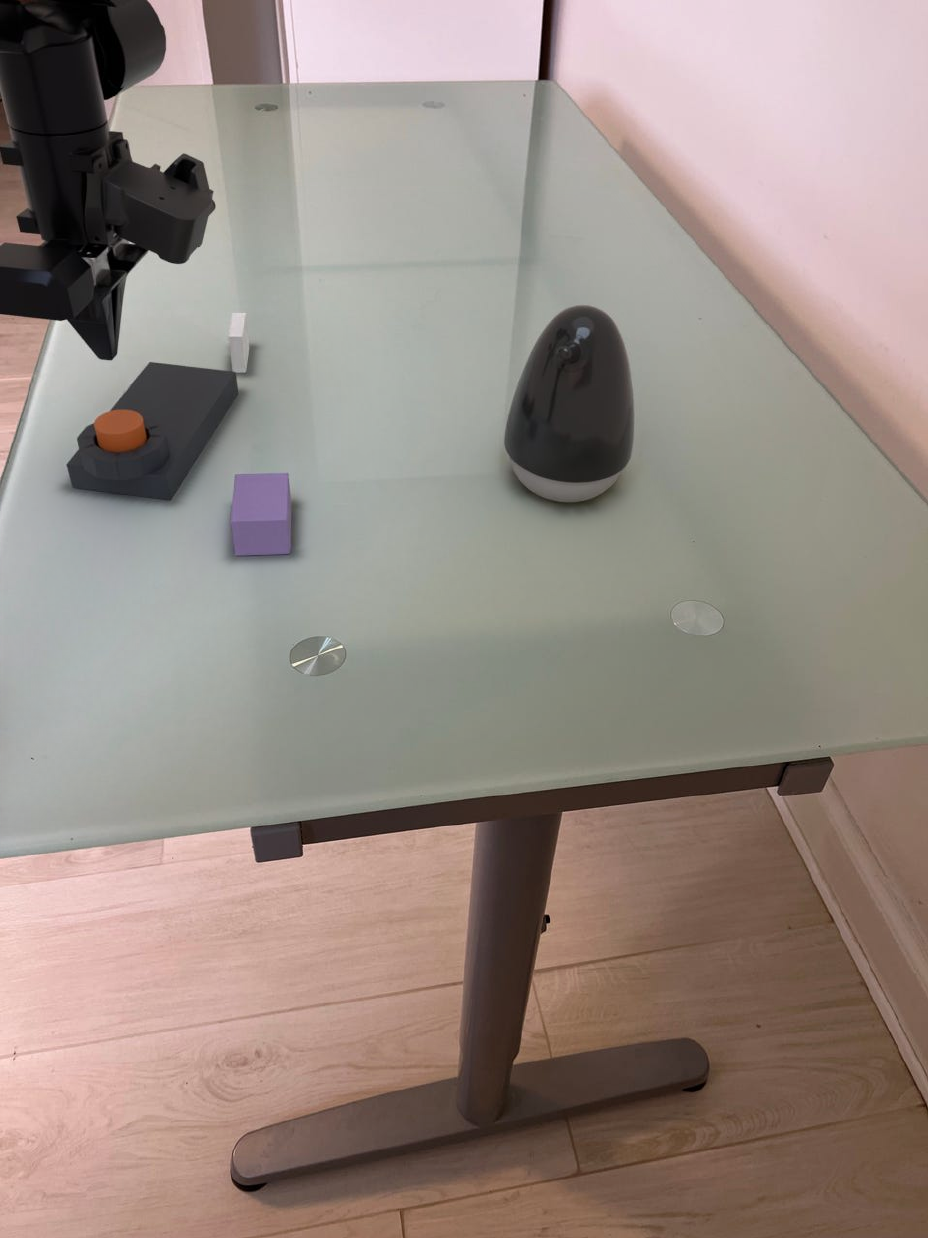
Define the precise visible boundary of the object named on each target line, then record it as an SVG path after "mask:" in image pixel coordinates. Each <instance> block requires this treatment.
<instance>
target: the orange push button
mask: <svg viewBox="0 0 928 1238" xmlns="http://www.w3.org/2000/svg"><path fill="white" fill-rule="evenodd" d="M93 423H94V427H95V431H96V436H97V440H98V444H99V446H100V448H101V449H102V450H104V451H111V452H123V451H130V450H134V449H136V448H138V447H140V446H142V445H144V444H145V443H146V441H147V436H146V431H145V426H144V421H143V417H142V416H141V415H140V414H139V413H137V412H135V411H132V410H113V411H110V410H109V411H106V412H104V413H102V414H100V415H99V416H98V417H96V418H95V420H94V422H93Z"/></svg>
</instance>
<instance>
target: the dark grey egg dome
mask: <svg viewBox="0 0 928 1238" xmlns="http://www.w3.org/2000/svg"><path fill="white" fill-rule="evenodd" d="M630 365H631V364H630V359H629V355H628V352H627V347H626V345H625V341H624V338H623V336H622V334H621V331H620V329H619V327H618V326H617V324H616V322H615V320H614V319H613V318H612V316H611V315H610V314H608V313H607V312H606V311H604V310H603V309H601V308H599V307H597V306H594V305H589V304H578V305H572V306H570V307H567V308H565V309H563V310H561V311H560V312H559V313H557V314H556V315H554V317H553V318H552V319H551V320H550V321H549V322H548V323H547V324H546V326H545V328H544V329H543V330H542V332H541V333H540V334H539V336H538V338H537V339H536V341H535V343H534V345H533V347H532V349H531V351H530V353H529V355H528V357H527V359H526V361H525V364H524V367H523V369H522V372H521V374H520V376H519V380H518V382H517V385H516V388H515V390H514V394H513V397H512V400H511V404H510V408H509V411H508V415H507V418H506V423H505V429H504V437H503V438H504V439H503V443H504V449H505V451H506V453H507V455H508V459H509V463H510V465H511V468H512V470H513V472H514V474H515V476H516V477H517V479H518V481H520V482H521V483H522V485H523V486H524V487H525V488H527V489H528V490H529V491H531V492H532V493H534V494H536V495H537V496H539V497H542V498H544V499H547V500H549V501H554V502H558V503H579V502H584V501H588V500H591V499H594V498H596V497H598V496H600V495H602V494H604V493H605V492H606V491H607V490H608V489H610V487H612V485H613V484H615V482H616V481H617V480H618V479H619V477H620V475H621V473H622V472H623V470H624V469H625V468H626V467H627V466H628V464H629V462H630V460H631V458H632V454H633V448H634V441H635V398H634V387H633V379H632V371H631V366H630Z"/></svg>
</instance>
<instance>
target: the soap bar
mask: <svg viewBox="0 0 928 1238" xmlns="http://www.w3.org/2000/svg"><path fill="white" fill-rule="evenodd" d="M289 475H290V474H289V473H288V472H271V473H270V472H269V473H268V472H267V473H235V474H234V479H233V480H234V481H233V491H232V501H231V502H232V503H231V513H230V528H231V535H232V542H233V549H234V555H235V556H236V557H241V556H242V557H243V556H245V557H246V556H271V555H274V556H275V555H290V554H291V544H292V543H291V542H292V540H291V539H292V536H291V535H292V499H291V487H290V485H291V484H290V476H289Z"/></svg>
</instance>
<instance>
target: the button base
mask: <svg viewBox="0 0 928 1238" xmlns="http://www.w3.org/2000/svg"><path fill="white" fill-rule="evenodd" d="M237 379H238V377H237V373H236V372H233V370H223V369H215V368H206V367H205V368H204V367H196V366H189V365H180V364H172V363H163V362H155V361H149V362H148V363H147V365H146V366H145V367H144V368H143V370H142V371H141V372H140V373H139V374H138V376H137V377H136V378H135V379H134V381H132V383H131V384H130V385H129V387H128V388H127V389H126V390H125V391H124V393H123V394H122V395H121V396H120V397H119V399H118V401H116V403H115V404H114V405H113V406H112V408H111V409H110V410H109V411H113V410H132V411H135V412H137V413H139V414H140V415H141V416H142V417H143V421H144V426H145V431H146V436H147V441H146V443H145V444H144V445H142V446H140V447H138V448H136V449H134V450H130V451H123V452H111V451H104V450H102V449H101V448H100V446H99V444H98V440H97V436H96V431H95V427H94V422H93V423H91V424H88V425H87V426H85V428H84V429H83V430H82V431H81V432H80V433H79V435H78V436H77V438H76V442H77V446H78V449H77V451H76V452H75V453H74V454H73V455H72V457H71V458H70V460H68V462H67V463H66V468H67V472H68V476H69V480H70V484H71V487H72V488H73V489H81V490H89V491H96V492H104V493H111V494H120V495H128V496H136V497H141V498H142V497H143V498H151V499H158V500H167V501H171V500H172V498H173V496H174V495H175V493H176V492H177V491H178V489H179V487H180V486H181V484H182V483H183V482H184V480H185V478H186V477H187V475H188V473H189V471H190V470H191V469H192V467H193V465H194V464H195V462H196V461H197V459H198V458H199V456H200V454H201V453H202V451H203V450H204V448H205V446H206V445H207V443H208V442H209V440H210V439H211V437H212V436H213V434H214V432H215V431H216V429H217V428H218V426H219V424H220V423H221V421H222V419H223V418H224V417H225V416H226V414H227V412H228V411H229V409H230V407H231V406H232V404H233V403H234V401H235V399H236V398H237V396H238V395H239V388H238V380H237Z"/></svg>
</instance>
